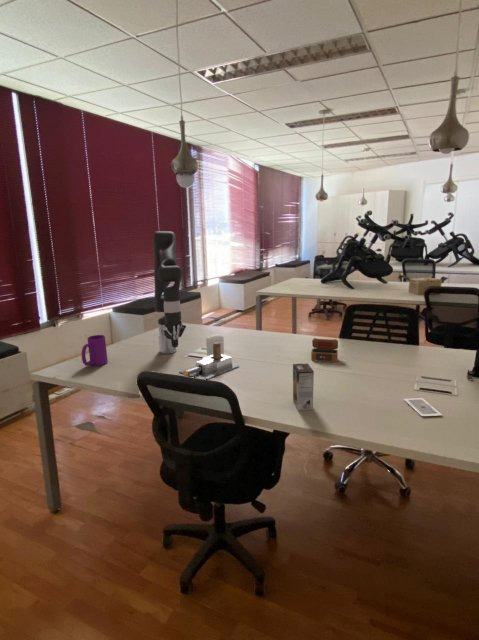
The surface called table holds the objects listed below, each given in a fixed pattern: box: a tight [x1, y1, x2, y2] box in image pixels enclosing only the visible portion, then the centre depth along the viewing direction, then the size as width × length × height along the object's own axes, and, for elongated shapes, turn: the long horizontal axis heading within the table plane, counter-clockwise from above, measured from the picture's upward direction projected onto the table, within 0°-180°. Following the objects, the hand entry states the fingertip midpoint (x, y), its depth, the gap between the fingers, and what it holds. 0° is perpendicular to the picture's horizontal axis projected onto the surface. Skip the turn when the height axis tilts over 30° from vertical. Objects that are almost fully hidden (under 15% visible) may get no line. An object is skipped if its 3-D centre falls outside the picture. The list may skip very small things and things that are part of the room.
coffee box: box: [292, 363, 315, 411], centre depth 154 cm, size 9×6×16 cm
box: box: [310, 337, 339, 363], centre depth 207 cm, size 28×28×12 cm
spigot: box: [213, 342, 221, 360], centre depth 201 cm, size 4×4×12 cm
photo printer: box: [205, 333, 225, 357], centre depth 218 cm, size 10×4×12 cm, turn 123°
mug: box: [81, 334, 109, 367], centre depth 208 cm, size 9×16×15 cm, turn 156°
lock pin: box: [182, 366, 202, 377], centre depth 191 cm, size 3×13×3 cm, turn 137°
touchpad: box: [403, 397, 443, 417], centre depth 150 cm, size 8×15×2 cm, turn 2°
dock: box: [178, 354, 240, 380], centre depth 198 cm, size 18×25×5 cm
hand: (175, 347), depth 179 cm, fingers closed
